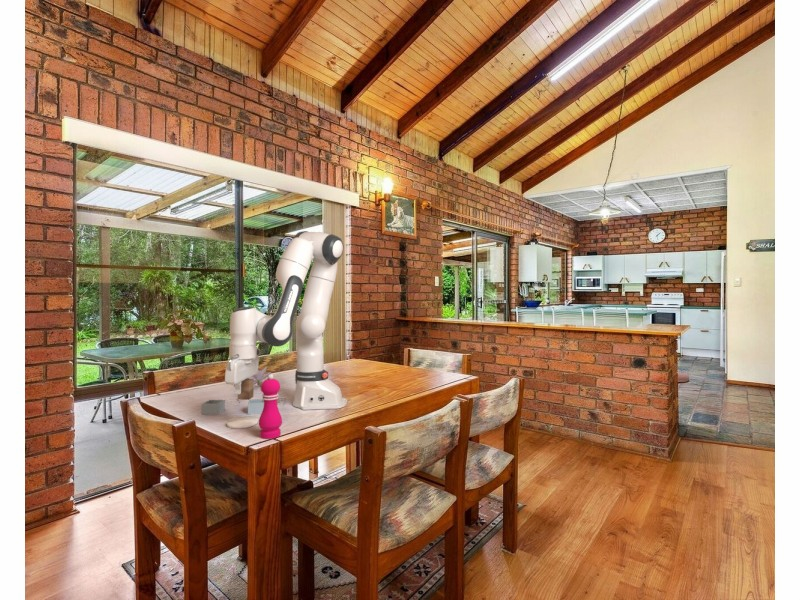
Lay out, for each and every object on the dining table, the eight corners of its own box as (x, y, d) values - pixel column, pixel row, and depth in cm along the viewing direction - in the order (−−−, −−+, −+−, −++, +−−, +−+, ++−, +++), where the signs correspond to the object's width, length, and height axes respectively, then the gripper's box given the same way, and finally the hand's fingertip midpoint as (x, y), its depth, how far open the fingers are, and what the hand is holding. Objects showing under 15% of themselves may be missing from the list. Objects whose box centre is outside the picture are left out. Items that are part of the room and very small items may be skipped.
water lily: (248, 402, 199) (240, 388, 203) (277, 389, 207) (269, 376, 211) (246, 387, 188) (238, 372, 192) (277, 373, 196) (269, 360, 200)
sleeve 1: (224, 410, 162) (224, 400, 161) (217, 414, 155) (217, 404, 155) (209, 409, 162) (209, 399, 162) (201, 414, 156) (201, 403, 155)
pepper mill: (266, 441, 127) (266, 377, 127) (254, 435, 132) (254, 374, 132) (286, 435, 133) (286, 374, 133) (274, 430, 138) (274, 371, 137)
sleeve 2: (265, 408, 164) (265, 398, 164) (265, 412, 158) (265, 402, 158) (248, 409, 162) (248, 399, 162) (247, 414, 156) (247, 403, 156)
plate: (262, 419, 149) (262, 416, 149) (251, 428, 139) (251, 425, 139) (234, 419, 150) (234, 415, 150) (221, 428, 139) (221, 424, 139)
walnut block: (253, 396, 146) (253, 378, 146) (249, 399, 142) (249, 381, 142) (242, 396, 146) (242, 378, 146) (237, 399, 142) (237, 380, 142)
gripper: (239, 357, 133) (238, 399, 134) (262, 349, 154) (261, 386, 154) (220, 356, 134) (219, 399, 134) (245, 349, 154) (244, 385, 154)
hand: (242, 392), depth 144 cm, fingers closed on walnut block, 4 cm apart
